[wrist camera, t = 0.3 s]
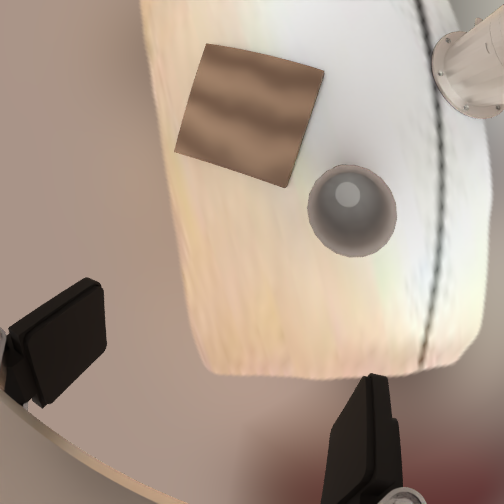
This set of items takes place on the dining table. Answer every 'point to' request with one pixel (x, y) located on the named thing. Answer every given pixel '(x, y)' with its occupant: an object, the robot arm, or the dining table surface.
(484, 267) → the dining table surface
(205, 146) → the serving board
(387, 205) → the chalice
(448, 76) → the robot arm
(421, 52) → the dining table surface
